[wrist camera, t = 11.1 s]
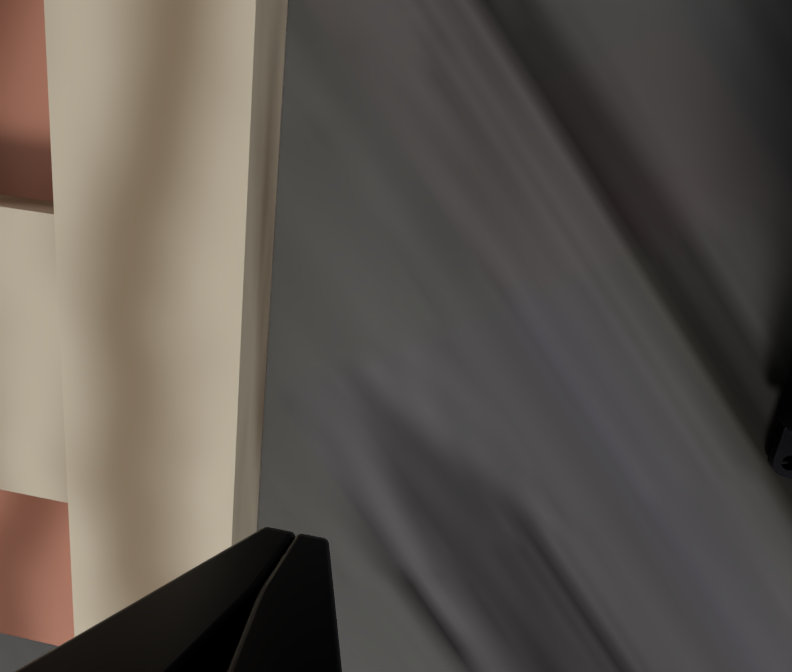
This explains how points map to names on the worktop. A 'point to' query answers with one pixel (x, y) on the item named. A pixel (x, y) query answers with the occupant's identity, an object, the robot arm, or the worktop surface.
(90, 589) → the trap board
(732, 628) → the worktop surface
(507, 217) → the worktop surface
